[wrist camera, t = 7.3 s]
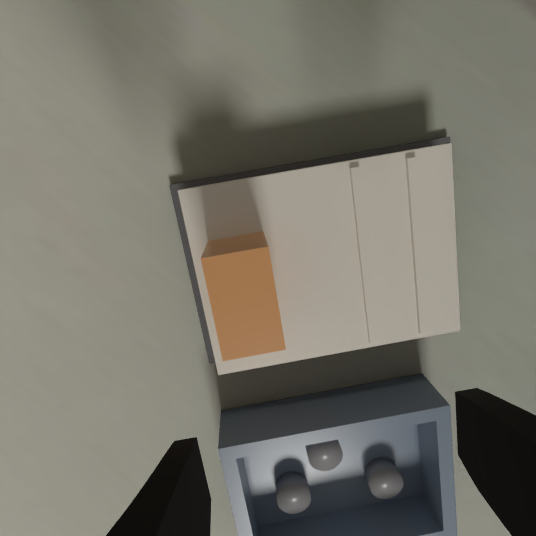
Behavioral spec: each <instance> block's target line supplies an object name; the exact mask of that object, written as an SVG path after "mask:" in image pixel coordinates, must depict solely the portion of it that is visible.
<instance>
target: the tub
mask: <svg viewBox="0 0 536 536" xmlns="http://www.w3.org/2000/svg"><path fill="white" fill-rule="evenodd" d="M218 450H219V455H220V459H221V463H222V468H223V472H224V476H225V481H226V485H227V489H228V493H229V498H230V502H231V506H232V511H233V515H234V519H235V524H236V528H237V532H238V536H457V519H456V502H455V484H454V466H453V449H452V431H451V413H450V405H449V404H448V402H447V401H446V400H445V399H444V398H443V397H442V396H441V394H440V393H439V392H438V391H437V390H436V389H435V388H434V386H433V385H432V384H431V383H430V382H429V381H428V380H427V378H426V377H425V376H424V375H423V374H422V373H421V374H416V375H410V376H405V377H400V378H394V379H389V380H384V381H378V382H373V383H368V384H362V385H357V386H351V387H346V388H341V389H335V390H330V391H325V392H319V393H314V394H308V395H303V396H298V397H292V398H287V399H282V400H276V401H271V402H265V403H260V404H255V405H249V406H244V407H239V408H233V409H228V410H223V411H221V419H220V432H219V445H218Z"/></svg>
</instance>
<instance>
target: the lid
mask: <svg viewBox="0 0 536 536" xmlns="http://www.w3.org/2000/svg"><path fill="white" fill-rule="evenodd" d="M178 195H179V199H180V204H181V209H182V213H183V218H184V222H185V227H186V231H187V236H188V240H189V245H190V249H191V254H192V258H193V263H194V267H195V272H196V277H197V281H198V286H199V290H200V295H201V299H202V304H203V308H204V313H205V317H206V322H207V326H208V331H209V336H210V340H211V345H212V349H213V354H214V358H215V363H216V367H217V372H218V375H223V374H228V373H233V372H239V371H244V370H250V369H255V368H261V367H266V366H271V365H277V364H282V363H288V362H293V361H299V360H304V359H309V358H315V357H320V356H326V355H331V354H337V353H342V352H347V351H353V350H358V349H364V348H369V347H375V346H380V345H385V344H391V343H396V342H402V341H407V340H412V339H418V338H423V337H429V336H434V335H440V334H445V333H450V332H456V331H460V313H459V292H458V271H457V249H456V228H455V206H454V185H453V164H452V143H448V144H440V145H434V146H429V147H423V148H417V149H411V150H406V151H400V152H394V153H388V154H382V155H377V156H371V157H365V158H359V159H353V160H348V161H342V162H336V163H330V164H324V165H319V166H313V167H307V168H301V169H296V170H290V171H284V172H278V173H272V174H267V175H261V176H255V177H249V178H243V179H238V180H232V181H226V182H220V183H215V184H209V185H203V186H197V187H191V188H186V189H180V190H178Z"/></svg>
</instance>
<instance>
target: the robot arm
mask: <svg viewBox="0 0 536 536" xmlns="http://www.w3.org/2000/svg"><path fill="white" fill-rule="evenodd" d="M455 397H456V420H457V443H458V455H459V457H460V459H461V461H462V463H463V464H464V466H465V468H466V470H467V472H468V473H469V475H470V477H471V479H472V480H473V482H474V484H475V485H476V487H477V489H478V490H479V492H480V493H481V494H482V496H483V497H484V499H485V500H486V501H487V503H488V504H489V506H490V507H491V508H492V510H493V511H494V512H495V514H496V515H497V516H498V518H499V519H500V520H501V522H502V523H503V525H504V526H505V527H506V529H507V530H508V531H509V533H510V534H511V535H512V536H536V415H534V414H532V413H530V412H527V411H525V410H523V409H521V408H519V407H517V406H515V405H513V404H511V403H509V402H507V401H505V400H503V399H500V398H498V397H496V396H494V395H492V394H490V393H488V392H485V391H483V390H481V389H478V388H474V389H468V390H463V391H457V392H455ZM210 522H211V497H210V493H209V488H208V484H207V480H206V476H205V471H204V467H203V463H202V459H201V454H200V450H199V446H198V442H197V437H195V438H189V439H184V440H178V441H174V442H173V444H172V445H171V446H170V448H169V449H168V451H167V452H166V454H165V455H164V457H163V458H162V460H161V461H160V463H159V464H158V466H157V467H156V469H155V470H154V471H153V473H152V474H151V476H150V477H149V479H148V480H147V482H146V483H145V484H144V486H143V487H142V489H141V490H140V491H139V493H138V494H137V496H136V497H135V498H134V500H133V501H132V503H131V504H130V505H129V507H128V508H127V509H126V511H125V512H124V513H123V515H122V516H121V517H120V518H119V520H118V521H117V522H116V523H115V525H114V526H113V527H112V529H111V530H110V531H109V532H108V534H107V535H106V536H210Z"/></svg>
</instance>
